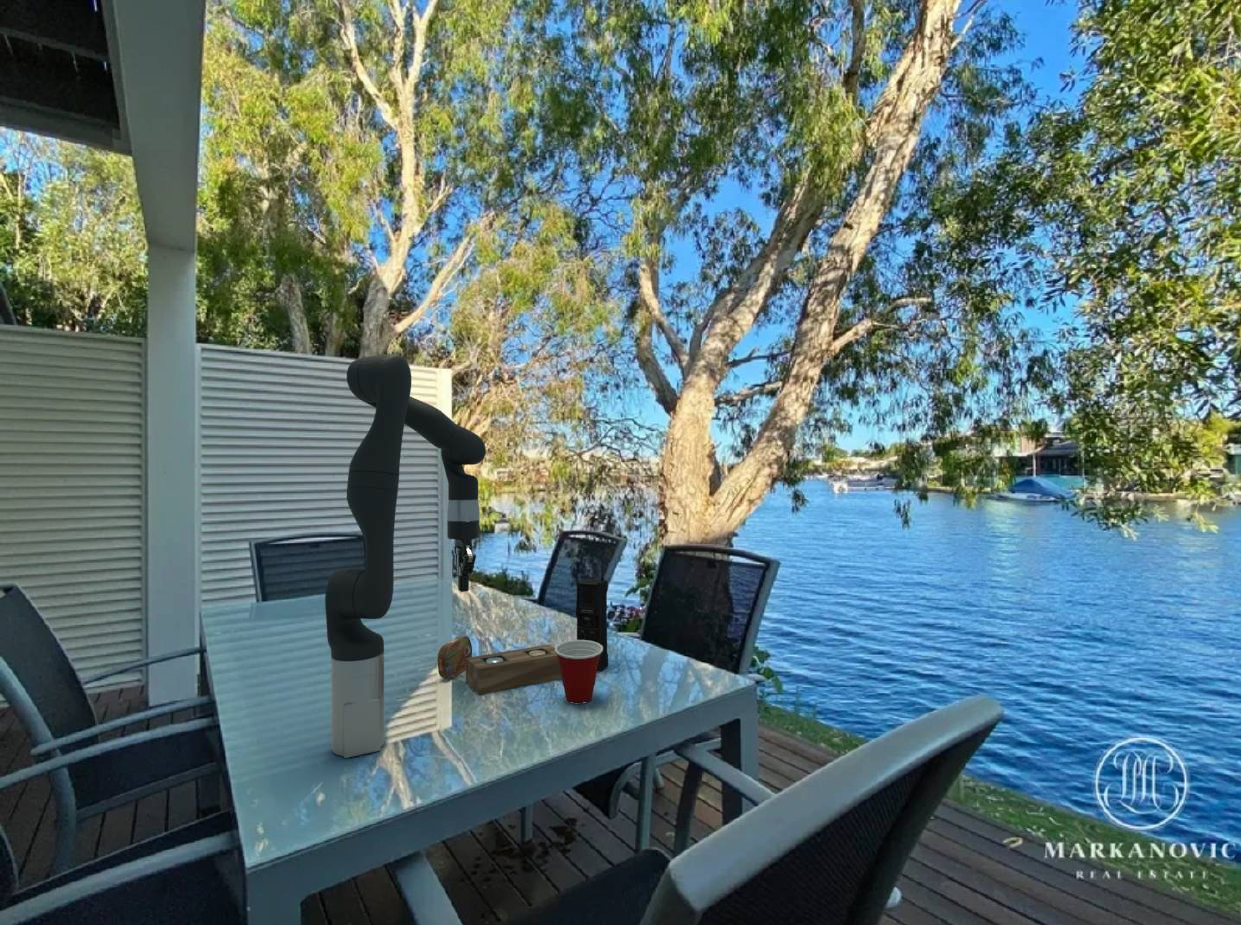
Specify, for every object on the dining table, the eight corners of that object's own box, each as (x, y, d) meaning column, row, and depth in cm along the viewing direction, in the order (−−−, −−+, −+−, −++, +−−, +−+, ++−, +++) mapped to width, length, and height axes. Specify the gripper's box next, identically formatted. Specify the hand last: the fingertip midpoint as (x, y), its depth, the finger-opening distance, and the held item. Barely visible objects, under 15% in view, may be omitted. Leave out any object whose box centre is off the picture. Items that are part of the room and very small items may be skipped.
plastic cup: (559, 711, 137) (559, 655, 137) (551, 694, 148) (550, 641, 148) (609, 706, 140) (608, 650, 140) (597, 689, 150) (596, 638, 150)
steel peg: (505, 683, 154) (505, 660, 154) (489, 686, 152) (489, 663, 152) (499, 678, 157) (499, 656, 157) (484, 681, 155) (483, 659, 155)
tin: (447, 683, 156) (446, 648, 156) (435, 682, 157) (434, 647, 157) (473, 664, 171) (473, 632, 171) (462, 663, 171) (462, 632, 172)
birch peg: (547, 675, 160) (547, 653, 160) (532, 678, 157) (532, 655, 158) (541, 671, 163) (541, 649, 163) (526, 673, 161) (526, 651, 161)
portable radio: (571, 668, 166) (570, 571, 166) (583, 662, 171) (582, 568, 171) (598, 673, 162) (597, 573, 162) (609, 666, 168) (608, 570, 168)
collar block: (566, 678, 159) (565, 653, 159) (479, 695, 147) (479, 668, 148) (549, 667, 167) (548, 644, 167) (465, 682, 156) (465, 657, 156)
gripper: (440, 517, 159) (440, 588, 158) (455, 520, 147) (455, 597, 147) (470, 516, 162) (471, 585, 162) (487, 519, 151) (487, 593, 150)
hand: (463, 591), depth 154 cm, fingers closed
